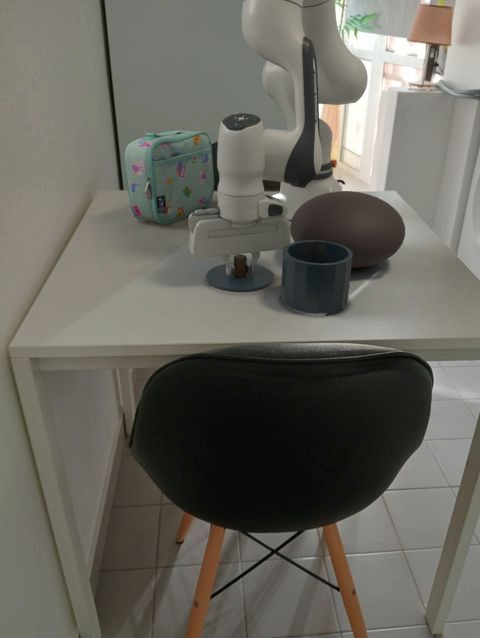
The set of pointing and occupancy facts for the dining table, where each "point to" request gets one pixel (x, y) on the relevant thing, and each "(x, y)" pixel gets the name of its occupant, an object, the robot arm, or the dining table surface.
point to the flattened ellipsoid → (351, 225)
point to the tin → (316, 276)
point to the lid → (240, 277)
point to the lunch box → (169, 175)
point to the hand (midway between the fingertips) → (240, 272)
